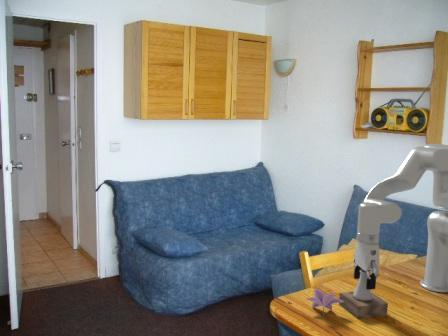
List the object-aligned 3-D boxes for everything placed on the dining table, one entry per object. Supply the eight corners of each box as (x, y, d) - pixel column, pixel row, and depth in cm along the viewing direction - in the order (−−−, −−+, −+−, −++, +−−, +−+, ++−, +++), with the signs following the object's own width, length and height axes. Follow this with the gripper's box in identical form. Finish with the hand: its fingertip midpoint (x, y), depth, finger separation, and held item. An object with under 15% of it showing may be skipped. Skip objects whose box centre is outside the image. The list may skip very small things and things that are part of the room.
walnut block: (366, 302, 177) (367, 289, 176) (386, 316, 165) (387, 303, 165) (338, 305, 173) (339, 292, 172) (357, 320, 162) (358, 306, 161)
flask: (370, 293, 172) (372, 267, 171) (375, 302, 165) (377, 275, 164) (350, 292, 173) (351, 266, 171) (354, 301, 166) (356, 274, 164)
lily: (347, 319, 163) (345, 291, 167) (333, 317, 155) (331, 287, 158) (316, 320, 170) (315, 293, 174) (300, 318, 162) (299, 289, 165)
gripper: (390, 244, 158) (386, 293, 160) (366, 230, 175) (362, 274, 177) (369, 245, 156) (365, 294, 159) (347, 230, 173) (344, 275, 176)
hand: (364, 283), depth 168 cm, fingers open, 9 cm apart
